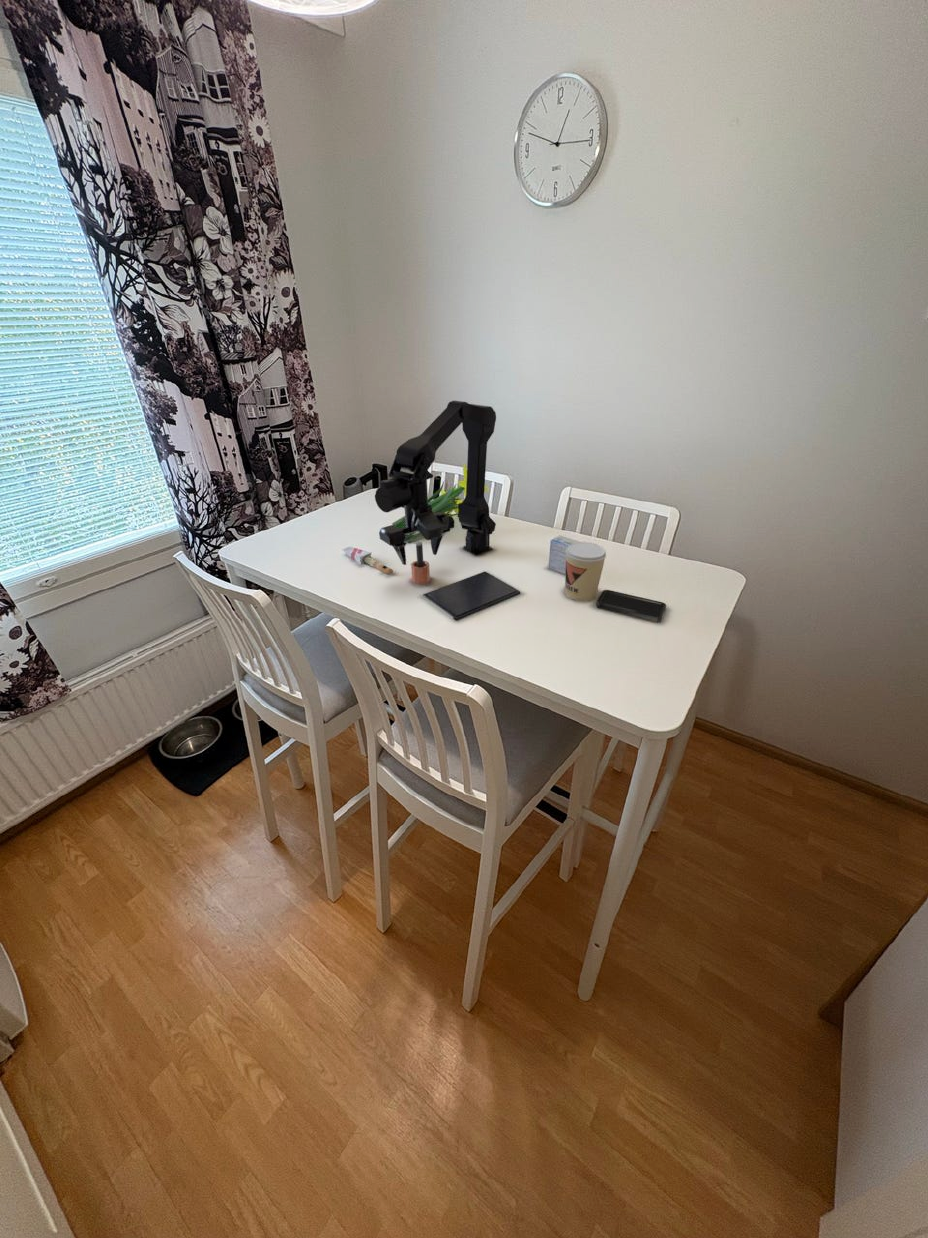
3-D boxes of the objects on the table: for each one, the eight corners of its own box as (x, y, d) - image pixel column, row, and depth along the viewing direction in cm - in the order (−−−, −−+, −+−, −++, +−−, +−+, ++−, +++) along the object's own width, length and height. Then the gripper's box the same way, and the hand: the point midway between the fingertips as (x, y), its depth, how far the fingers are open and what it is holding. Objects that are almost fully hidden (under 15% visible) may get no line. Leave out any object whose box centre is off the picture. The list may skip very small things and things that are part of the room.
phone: (604, 588, 122) (667, 603, 116) (603, 592, 122) (665, 607, 116) (595, 603, 116) (661, 619, 110) (594, 607, 117) (660, 623, 111)
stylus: (422, 577, 129) (420, 540, 123) (425, 579, 128) (423, 542, 122) (417, 579, 128) (414, 542, 123) (420, 581, 127) (418, 544, 122)
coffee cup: (554, 588, 125) (558, 545, 118) (584, 581, 128) (591, 538, 121) (575, 606, 117) (581, 561, 111) (607, 598, 121) (614, 553, 114)
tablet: (485, 573, 132) (485, 570, 131) (520, 593, 123) (520, 590, 122) (423, 596, 122) (422, 593, 121) (456, 620, 112) (456, 617, 112)
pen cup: (423, 575, 131) (422, 558, 128) (433, 582, 128) (432, 564, 125) (409, 580, 129) (407, 563, 126) (418, 587, 126) (417, 570, 123)
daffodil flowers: (381, 532, 158) (461, 482, 171) (409, 564, 156) (489, 511, 168) (381, 500, 143) (469, 448, 156) (412, 536, 140) (500, 480, 153)
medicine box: (581, 572, 132) (585, 542, 127) (572, 578, 129) (575, 547, 125) (556, 563, 137) (559, 534, 132) (547, 568, 134) (550, 539, 129)
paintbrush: (351, 541, 143) (395, 565, 131) (352, 549, 144) (395, 574, 133) (339, 545, 140) (383, 570, 129) (340, 553, 142) (384, 579, 131)
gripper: (399, 519, 106) (405, 582, 115) (467, 500, 116) (467, 560, 124) (374, 505, 114) (381, 565, 122) (440, 488, 123) (442, 545, 132)
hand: (419, 559), depth 125 cm, fingers open, 9 cm apart
